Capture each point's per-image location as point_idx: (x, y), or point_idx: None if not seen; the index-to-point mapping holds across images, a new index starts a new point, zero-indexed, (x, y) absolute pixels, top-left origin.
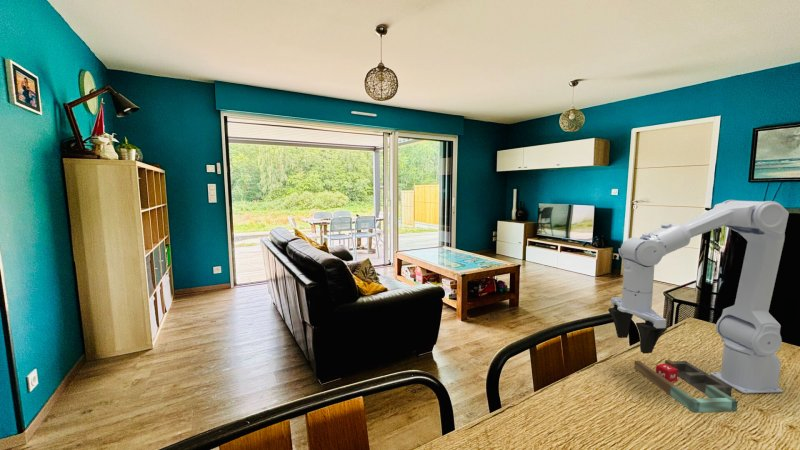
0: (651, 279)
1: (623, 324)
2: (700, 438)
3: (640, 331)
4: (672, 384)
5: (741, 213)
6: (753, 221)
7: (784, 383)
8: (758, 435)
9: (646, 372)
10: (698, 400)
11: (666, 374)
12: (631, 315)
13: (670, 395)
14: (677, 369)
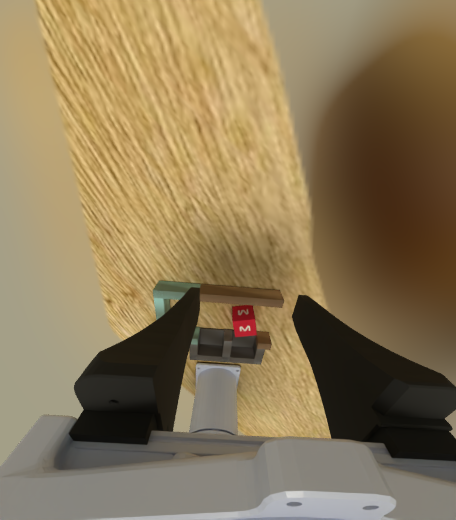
0: None
1: (320, 347)
2: (99, 239)
3: (157, 339)
4: (203, 299)
5: None
6: None
7: None
8: (119, 312)
9: (252, 294)
10: (158, 300)
11: (235, 315)
12: (329, 416)
13: (200, 284)
14: (235, 336)
